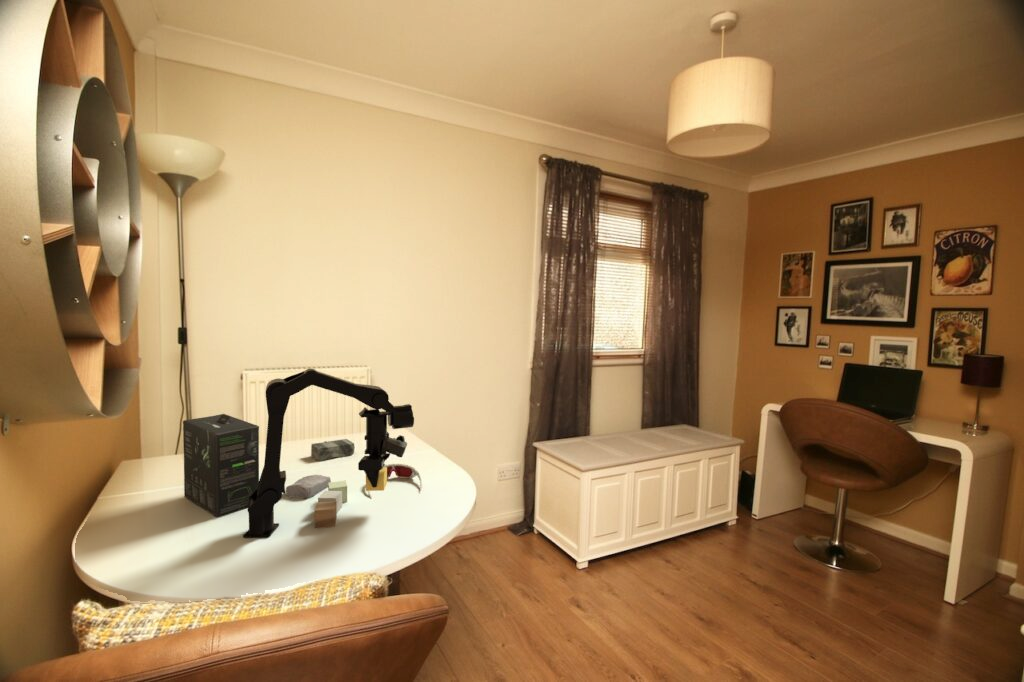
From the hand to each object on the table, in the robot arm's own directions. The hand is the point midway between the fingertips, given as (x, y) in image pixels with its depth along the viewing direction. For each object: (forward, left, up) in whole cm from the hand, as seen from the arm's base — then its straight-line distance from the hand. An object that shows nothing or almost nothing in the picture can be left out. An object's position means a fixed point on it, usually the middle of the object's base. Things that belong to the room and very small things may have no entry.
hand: (376, 483), depth 131 cm
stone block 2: (+51, +26, -9) cm, 58 cm away
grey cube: (0, +13, -8) cm, 15 cm away
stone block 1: (+16, +25, -9) cm, 31 cm away
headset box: (+9, +47, -8) cm, 49 cm away
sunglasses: (+18, -2, -9) cm, 20 cm away
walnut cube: (-7, +12, -8) cm, 16 cm away
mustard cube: (0, 0, -1) cm, 1 cm away
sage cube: (+8, +13, -8) cm, 17 cm away
